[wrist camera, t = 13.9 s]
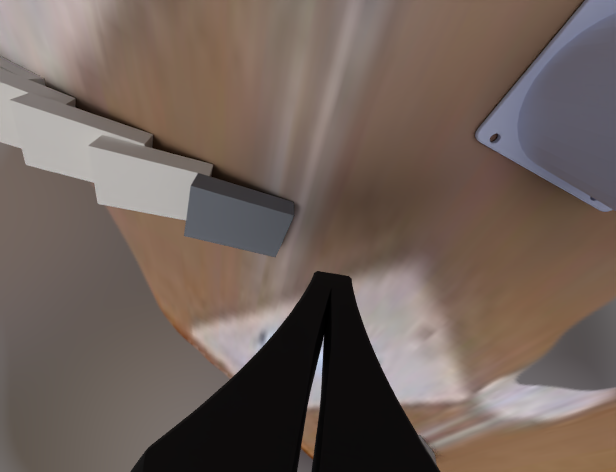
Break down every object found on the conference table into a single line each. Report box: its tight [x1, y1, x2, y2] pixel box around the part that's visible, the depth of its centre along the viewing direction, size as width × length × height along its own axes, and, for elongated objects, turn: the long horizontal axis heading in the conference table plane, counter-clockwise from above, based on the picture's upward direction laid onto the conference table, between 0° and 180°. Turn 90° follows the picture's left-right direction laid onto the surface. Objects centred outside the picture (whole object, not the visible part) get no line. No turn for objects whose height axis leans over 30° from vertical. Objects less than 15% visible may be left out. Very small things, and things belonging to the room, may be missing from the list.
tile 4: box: [0, 68, 76, 148], centre depth 17 cm, size 2×4×7 cm
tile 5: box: [0, 56, 46, 86], centre depth 19 cm, size 2×4×7 cm
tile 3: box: [9, 92, 153, 182], centre depth 18 cm, size 2×4×7 cm
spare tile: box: [184, 173, 294, 257], centre depth 19 cm, size 2×4×7 cm
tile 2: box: [88, 135, 213, 220], centre depth 18 cm, size 2×4×7 cm
